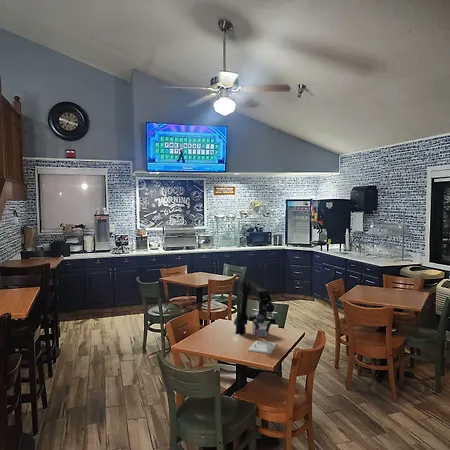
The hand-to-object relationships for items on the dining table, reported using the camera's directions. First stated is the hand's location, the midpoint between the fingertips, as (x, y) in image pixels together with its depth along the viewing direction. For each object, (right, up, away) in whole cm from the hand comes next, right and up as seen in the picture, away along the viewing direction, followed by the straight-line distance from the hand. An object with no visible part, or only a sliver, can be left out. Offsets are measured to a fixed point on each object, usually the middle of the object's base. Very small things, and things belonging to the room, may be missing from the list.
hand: (262, 331), depth 259 cm
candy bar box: (+1, -10, +28) cm, 30 cm away
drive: (0, -1, 0) cm, 1 cm away
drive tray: (0, -11, 0) cm, 11 cm away
